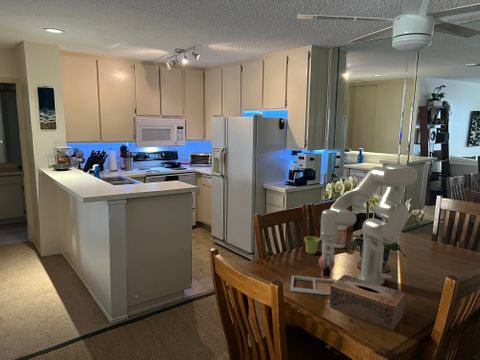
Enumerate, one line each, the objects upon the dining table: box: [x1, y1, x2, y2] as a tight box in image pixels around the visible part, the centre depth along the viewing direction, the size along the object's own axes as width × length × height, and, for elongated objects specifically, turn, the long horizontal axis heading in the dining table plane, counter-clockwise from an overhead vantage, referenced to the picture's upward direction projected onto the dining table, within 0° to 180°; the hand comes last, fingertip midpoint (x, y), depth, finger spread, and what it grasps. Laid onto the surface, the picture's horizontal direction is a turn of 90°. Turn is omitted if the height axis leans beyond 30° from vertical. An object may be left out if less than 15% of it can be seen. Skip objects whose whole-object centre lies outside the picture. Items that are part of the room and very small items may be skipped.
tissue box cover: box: [328, 274, 406, 331], centre depth 142 cm, size 26×14×10 cm, turn 51°
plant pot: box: [303, 236, 321, 255], centre depth 208 cm, size 9×9×9 cm
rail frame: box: [290, 275, 338, 296], centre depth 163 cm, size 22×14×2 cm, turn 79°
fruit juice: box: [334, 226, 348, 249], centre depth 218 cm, size 9×9×28 cm
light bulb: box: [318, 254, 335, 279], centre depth 161 cm, size 7×7×12 cm
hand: (325, 272), depth 161 cm, fingers closed on light bulb, 6 cm apart
